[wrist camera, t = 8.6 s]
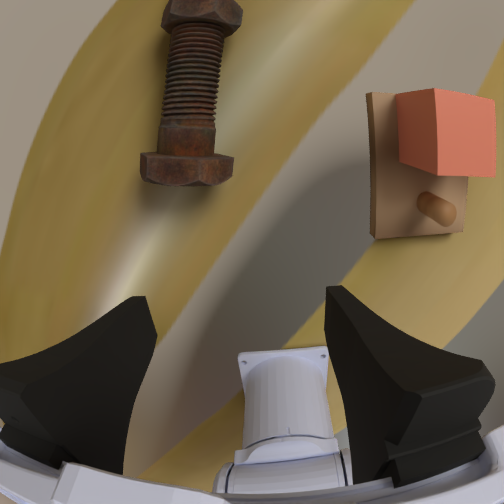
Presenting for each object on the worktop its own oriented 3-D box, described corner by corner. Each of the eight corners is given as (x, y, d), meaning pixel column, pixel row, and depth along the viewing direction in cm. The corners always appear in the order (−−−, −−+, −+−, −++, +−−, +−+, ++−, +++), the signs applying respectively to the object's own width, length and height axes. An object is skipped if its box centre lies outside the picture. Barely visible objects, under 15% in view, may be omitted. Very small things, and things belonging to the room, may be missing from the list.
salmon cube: (452, 163, 17) (495, 177, 13) (399, 161, 18) (437, 175, 13) (450, 100, 15) (494, 100, 11) (395, 94, 16) (434, 88, 11)
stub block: (455, 226, 20) (484, 246, 16) (369, 233, 21) (390, 257, 17) (458, 103, 16) (492, 103, 13) (365, 93, 17) (390, 87, 13)
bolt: (228, -13, 15) (206, 172, 21) (162, -24, 13) (137, 174, 19) (268, -44, 11) (242, 187, 16) (187, -64, 8) (150, 189, 14)
